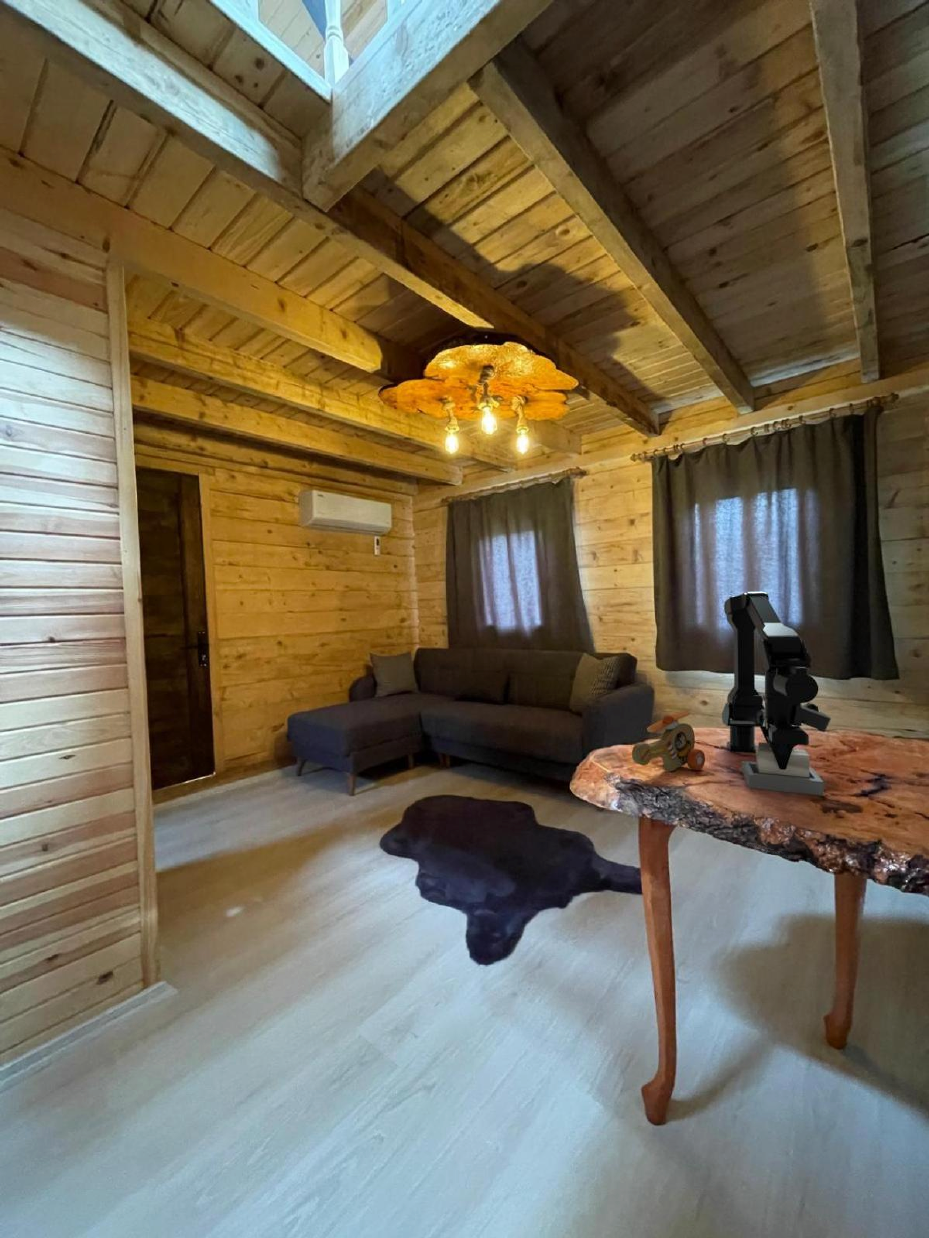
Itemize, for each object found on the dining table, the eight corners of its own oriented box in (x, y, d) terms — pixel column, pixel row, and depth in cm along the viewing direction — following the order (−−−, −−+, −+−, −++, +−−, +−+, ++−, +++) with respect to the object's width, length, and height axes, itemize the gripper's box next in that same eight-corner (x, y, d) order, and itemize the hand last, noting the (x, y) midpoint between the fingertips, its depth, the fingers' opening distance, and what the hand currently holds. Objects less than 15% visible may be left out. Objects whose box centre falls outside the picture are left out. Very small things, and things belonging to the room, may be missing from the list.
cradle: (742, 772, 114) (742, 760, 113) (810, 779, 109) (810, 766, 109) (749, 787, 105) (749, 774, 105) (823, 795, 100) (823, 781, 100)
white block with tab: (756, 766, 110) (756, 739, 110) (804, 770, 107) (804, 743, 106) (759, 772, 106) (759, 745, 106) (809, 777, 103) (809, 748, 103)
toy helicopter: (708, 767, 117) (708, 709, 117) (651, 787, 106) (651, 723, 106) (677, 758, 124) (676, 704, 124) (620, 776, 113) (620, 716, 113)
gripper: (841, 704, 94) (840, 786, 95) (813, 686, 112) (813, 756, 112) (772, 701, 98) (772, 779, 99) (756, 684, 116) (756, 751, 116)
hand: (780, 765), depth 107 cm, fingers closed on white block with tab, 4 cm apart
